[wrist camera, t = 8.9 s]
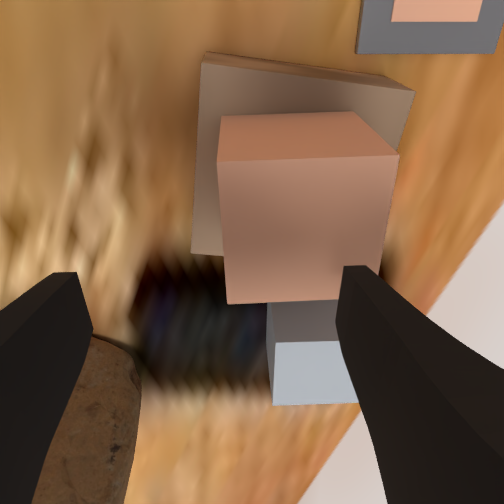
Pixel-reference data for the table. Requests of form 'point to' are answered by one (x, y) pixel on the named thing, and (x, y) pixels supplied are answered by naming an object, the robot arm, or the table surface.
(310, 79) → the walnut base
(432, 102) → the table surface
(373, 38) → the card
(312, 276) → the terracotta cube
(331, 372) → the grey cube
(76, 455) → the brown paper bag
